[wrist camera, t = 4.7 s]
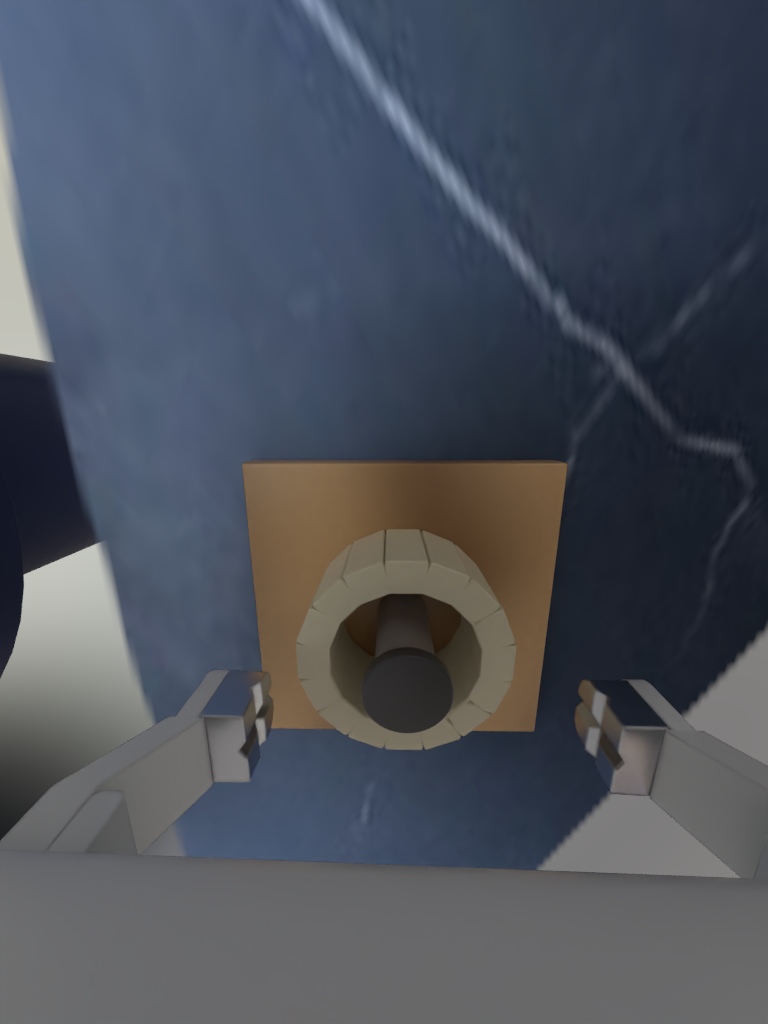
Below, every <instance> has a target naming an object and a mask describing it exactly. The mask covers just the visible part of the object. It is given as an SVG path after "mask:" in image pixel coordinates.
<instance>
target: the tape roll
mask: <svg viewBox="0 0 768 1024" xmlns="http://www.w3.org/2000/svg"><path fill="white" fill-rule="evenodd" d="M388 594H424V595H427V596H429V597H432V598H434V599H437V600H440V601H442V602H445V603H447V604H450V605H452V606H453V607H454V608H455V609H456V610H457V611H458V612H459V613H460V614H461V623H460V625H459V626H458V628H457V630H456V632H455V634H454V636H453V638H452V640H451V642H449V643H448V644H447V645H446V646H445V647H443V648H442V649H441V650H440V651H439V652H437V653H436V654H435V656H436V657H438V658H439V659H440V660H441V661H442V662H443V663H444V664H445V666H446V667H447V669H448V671H449V673H450V676H451V680H452V684H453V689H454V698H453V703H452V706H451V708H450V710H449V712H448V714H447V715H446V716H445V717H444V719H443V720H442V721H440V722H439V723H438V724H437V725H435V726H433V727H432V728H430V729H427V730H425V731H421V732H417V733H398V732H394V731H390V730H388V729H385V728H383V727H381V726H380V725H378V724H377V723H376V722H374V721H373V720H372V719H371V718H370V716H369V715H368V714H367V712H366V710H365V708H364V706H363V703H362V698H361V688H362V680H363V676H364V673H365V671H366V669H367V667H368V666H369V665H370V663H371V662H372V661H373V660H374V659H375V657H374V656H371V655H369V654H368V653H366V652H365V651H364V650H363V649H362V648H361V647H359V646H358V645H357V644H356V643H355V642H354V641H353V640H352V639H351V637H350V635H349V633H348V631H347V629H346V627H345V625H344V623H343V621H344V620H345V619H346V618H347V617H348V616H349V615H350V614H351V613H353V612H354V611H355V610H356V609H357V608H358V607H359V606H360V605H361V604H364V603H367V602H369V601H372V600H375V599H377V598H380V597H383V596H386V595H388ZM515 654H516V645H515V639H514V636H513V633H512V631H511V628H510V625H509V623H508V620H507V617H506V615H505V612H504V610H503V608H502V606H501V604H500V603H499V601H498V599H497V598H496V596H495V594H494V593H493V591H492V589H491V588H490V586H489V584H488V583H487V581H486V579H485V578H484V576H483V574H482V573H481V571H480V570H479V568H478V567H477V565H476V564H475V563H474V562H473V561H472V560H471V559H470V558H469V557H468V556H467V555H466V554H465V553H464V552H463V551H462V550H461V549H460V548H459V547H458V546H457V545H454V544H453V542H452V541H449V540H447V539H444V538H442V537H439V536H437V535H434V534H432V533H429V532H427V531H424V530H423V531H422V532H420V530H419V529H387V530H386V533H385V531H384V530H381V531H379V532H376V533H374V534H371V535H369V536H366V537H364V538H361V539H359V540H356V541H354V542H353V545H352V544H350V545H348V546H347V547H346V548H345V549H344V550H343V551H342V552H341V553H340V554H339V555H338V556H337V557H336V558H335V559H334V560H333V561H332V562H331V563H330V564H329V566H328V567H327V568H326V570H325V572H324V575H323V577H322V579H321V582H320V584H319V586H318V589H317V591H316V593H315V596H314V598H313V600H312V603H311V605H310V607H309V610H308V612H307V615H306V617H305V620H304V622H303V625H302V627H301V630H300V632H299V635H298V637H297V643H296V655H297V669H298V678H299V679H300V682H301V685H302V686H303V688H304V690H305V692H306V694H307V695H308V697H309V699H310V701H311V703H312V705H313V706H314V708H315V710H319V712H318V713H319V715H320V716H321V717H323V718H324V719H325V720H326V721H328V722H329V723H330V724H331V725H333V726H334V727H335V728H336V729H338V730H339V731H340V732H341V733H343V734H344V735H347V734H348V736H349V737H350V738H352V739H355V740H358V741H361V742H364V743H366V744H369V745H372V746H375V747H378V748H383V747H384V745H385V748H386V749H387V750H422V748H423V746H424V748H425V749H426V750H427V749H430V748H433V747H436V746H440V745H443V744H446V743H449V742H452V741H455V740H459V739H460V735H462V736H465V735H467V734H468V733H469V732H471V731H472V730H473V729H475V728H476V727H477V726H478V725H480V724H481V723H482V722H484V721H485V720H486V719H488V718H489V717H490V716H491V713H495V711H496V709H497V708H498V706H499V704H500V703H501V701H502V699H503V698H504V696H505V694H506V693H507V691H508V689H509V688H510V686H511V681H512V680H513V674H514V664H515ZM490 712H491V713H490Z"/></svg>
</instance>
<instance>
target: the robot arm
mask: <svg viewBox="0 0 768 1024" xmlns="http://www.w3.org/2000/svg"><path fill="white" fill-rule="evenodd" d="M271 686H272V682H271V674H270V673H269V672H261V671H240V670H232V671H231V670H212V671H210V672H209V673H208V674H207V675H206V676H205V678H204V679H203V680H202V682H201V683H200V684H199V686H198V687H197V688H196V690H195V691H194V692H193V694H192V695H191V696H190V698H189V699H188V700H187V702H186V703H185V704H184V706H183V707H182V708H181V710H180V711H179V712H178V714H177V715H176V716H175V717H174V716H169V717H168V718H166V719H164V720H163V721H161V722H159V723H157V724H156V725H154V726H152V727H151V728H149V729H147V730H146V731H144V732H142V733H141V734H139V735H137V736H136V737H134V738H132V739H131V740H129V741H127V742H126V743H124V744H122V745H120V746H119V747H117V748H115V749H114V750H112V751H110V752H109V753H107V754H105V755H104V756H102V757H101V758H98V759H97V760H95V761H93V762H92V763H90V764H88V765H87V766H85V767H83V768H82V769H80V770H78V771H77V772H75V773H73V774H71V775H70V776H68V777H66V778H65V779H63V780H62V781H60V782H58V783H56V784H55V785H53V786H52V787H51V788H50V789H49V790H48V791H47V792H46V793H45V794H44V795H43V796H42V797H41V798H40V799H39V800H38V801H37V802H36V803H35V805H34V806H33V807H32V808H31V809H30V810H29V811H28V812H27V813H26V814H25V815H24V816H23V817H22V818H21V819H20V821H18V822H17V824H16V825H15V826H14V827H13V828H12V829H11V830H10V831H9V832H8V833H7V834H6V835H5V836H4V837H3V838H2V840H0V1024H768V766H767V765H765V764H763V763H761V762H759V761H757V760H756V759H754V758H752V757H750V756H748V755H746V754H745V753H742V752H741V751H739V750H737V749H735V748H734V747H732V746H730V745H728V744H726V743H724V742H722V741H720V740H719V739H717V738H715V737H713V736H711V735H710V734H708V733H706V732H704V731H696V730H695V729H694V728H693V727H692V726H691V725H690V724H689V723H688V722H687V721H686V720H685V719H684V718H683V717H682V716H681V715H680V714H679V713H678V712H677V711H676V710H675V709H674V708H673V707H672V705H671V704H670V703H669V702H668V701H667V700H666V699H665V698H664V697H663V696H662V695H661V694H660V693H659V692H658V691H657V690H656V689H655V688H654V687H653V686H652V685H651V684H650V683H649V682H647V681H645V680H585V679H583V680H582V681H581V683H580V685H579V691H578V693H579V695H580V696H581V698H582V699H583V701H582V702H581V703H580V704H579V705H578V706H577V707H576V710H575V725H576V731H577V734H578V737H579V739H580V741H581V743H582V745H583V747H584V748H585V750H587V751H588V752H589V753H590V754H592V755H593V756H594V757H596V762H595V768H596V769H597V771H598V773H599V774H600V776H601V778H602V779H603V781H604V783H605V785H606V786H607V788H608V790H609V791H610V793H611V794H623V795H639V796H650V799H651V800H652V801H654V802H655V803H656V804H657V805H658V806H659V807H660V808H661V809H663V810H664V811H665V812H666V813H667V814H668V815H670V816H671V817H672V818H673V819H674V820H675V821H676V822H678V823H679V824H680V825H681V826H682V827H683V828H685V829H686V830H687V831H688V832H689V833H690V834H691V835H692V836H694V837H695V838H696V839H697V840H698V841H699V842H700V843H702V844H703V845H704V846H705V847H706V848H707V849H709V850H710V851H711V852H712V853H713V854H714V855H715V856H717V857H718V858H719V859H720V860H721V861H722V862H723V863H725V864H726V865H727V866H728V867H729V868H730V869H731V870H733V871H734V872H735V873H736V874H737V875H738V876H740V877H741V878H722V877H696V876H672V875H647V874H645V875H644V874H619V873H595V872H568V871H543V870H517V869H492V868H466V867H440V866H414V865H389V864H363V863H337V862H311V861H285V860H259V859H234V858H208V857H182V856H156V855H141V854H142V853H143V852H144V851H145V850H146V849H147V848H148V847H149V846H150V845H151V844H152V843H153V842H154V841H155V840H157V839H158V838H159V837H160V836H161V835H162V834H163V833H164V832H165V831H166V830H167V829H168V828H169V827H170V826H171V825H172V824H173V823H174V822H175V821H176V820H177V819H178V818H179V817H180V816H181V815H182V814H183V813H184V812H185V811H186V810H187V809H188V808H189V807H190V806H192V805H193V804H194V803H195V802H196V801H197V800H198V799H199V798H200V797H201V796H202V795H203V794H204V793H205V792H206V791H207V790H208V789H209V788H210V787H211V786H212V785H213V782H250V780H251V777H252V775H253V772H254V770H255V767H256V765H257V763H258V760H259V758H260V749H259V746H260V745H261V744H263V743H264V742H265V741H266V740H267V738H268V735H269V733H270V730H271V725H272V721H273V712H274V705H273V699H272V698H271V697H270V695H269V694H268V693H269V691H270V688H271Z"/></svg>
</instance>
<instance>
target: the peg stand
mask: <svg viewBox="0 0 768 1024" xmlns="http://www.w3.org/2000/svg"><path fill="white" fill-rule="evenodd" d="M567 467H568V465H567V463H564V462H560V461H556V460H251V461H248V462H244V463H243V464H242V469H243V479H244V490H245V500H246V510H247V520H248V530H249V540H250V550H251V560H252V570H253V581H254V591H255V601H256V611H257V621H258V631H259V641H260V651H261V661H262V671H263V672H269V673H270V674H271V682H272V686H271V688H270V691H269V693H268V694H269V695H270V697H271V698H272V699H273V705H274V712H273V721H272V725H271V728H276V729H336V728H335V727H334V726H333V725H331V724H330V723H329V722H328V721H326V720H325V719H324V718H323V717H321V716H320V715H319V713H318V712H319V710H315V708H314V706H313V705H312V703H311V701H310V699H309V697H308V695H307V694H306V692H305V690H304V688H303V686H302V685H301V682H300V679H299V678H298V669H297V655H296V643H297V637H298V635H299V632H300V630H301V627H302V625H303V622H304V620H305V617H306V615H307V612H308V610H309V607H310V605H311V603H312V600H313V598H314V596H315V593H316V591H317V589H318V586H319V584H320V582H321V579H322V577H323V575H324V572H325V570H326V568H327V567H328V566H329V564H330V563H331V562H332V561H333V560H334V559H335V558H336V557H337V556H338V555H339V554H340V553H341V552H342V551H343V550H344V549H345V548H346V547H347V546H348V545H350V544H352V545H353V542H354V541H356V540H359V539H361V538H364V537H366V536H369V535H371V534H374V533H376V532H379V531H381V530H384V531H385V533H386V530H387V529H419V530H420V532H422V531H423V530H424V531H427V532H429V533H432V534H434V535H437V536H439V537H442V538H444V539H447V540H449V541H452V542H453V544H454V545H457V546H458V547H459V548H460V549H461V550H462V551H463V552H464V553H465V554H466V555H467V556H468V557H469V558H470V559H471V560H472V561H473V562H474V563H475V564H476V565H477V567H478V568H479V570H480V571H481V573H482V574H483V576H484V578H485V579H486V581H487V583H488V584H489V586H490V588H491V589H492V591H493V593H494V594H495V596H496V598H497V599H498V601H499V603H500V604H501V606H502V608H503V610H504V612H505V615H506V617H507V620H508V623H509V625H510V628H511V631H512V633H513V636H514V639H515V645H516V654H515V664H514V674H513V680H512V681H511V686H510V688H509V689H508V691H507V693H506V694H505V696H504V698H503V699H502V701H501V703H500V704H499V706H498V708H497V709H496V711H495V713H491V712H490V713H491V716H490V717H489V718H488V719H486V720H485V721H484V722H482V723H481V724H480V725H478V726H477V727H476V728H475V729H473V730H472V731H526V732H533V731H534V729H535V721H536V713H537V705H538V697H539V689H540V681H541V673H542V665H543V657H544V650H545V642H546V634H547V626H548V618H549V610H550V602H551V594H552V586H553V578H554V570H555V562H556V554H557V546H558V538H559V530H560V522H561V514H562V507H563V499H564V491H565V483H566V475H567ZM343 623H344V625H345V627H346V629H347V631H348V633H349V635H350V637H351V639H352V640H353V641H354V642H355V643H356V644H357V645H358V646H359V647H361V648H362V649H363V650H364V651H365V652H366V653H368V654H369V655H371V656H374V657H375V659H374V660H373V661H372V662H371V663H370V665H369V666H368V667H367V669H366V671H365V673H364V676H363V680H362V688H361V698H362V703H363V706H364V708H365V710H366V712H367V714H368V715H369V716H370V718H371V719H372V720H373V721H374V722H376V723H377V724H378V725H380V726H381V727H383V728H385V729H388V730H390V731H394V732H398V733H417V732H421V731H425V730H427V729H430V728H432V727H433V726H435V725H437V724H438V723H439V722H440V721H442V720H443V719H444V717H445V716H446V715H447V714H448V712H449V710H450V708H451V706H452V703H453V698H454V689H453V684H452V680H451V676H450V673H449V671H448V669H447V667H446V666H445V664H444V663H443V662H442V661H441V660H440V659H439V658H438V657H436V656H435V654H436V653H437V652H439V651H440V650H441V649H442V648H443V647H445V646H446V645H447V644H448V643H449V642H451V640H452V638H453V636H454V634H455V632H456V630H457V628H458V626H459V625H460V623H461V614H460V613H459V612H458V611H457V610H456V609H455V608H454V607H453V606H452V605H450V604H447V603H445V602H442V601H440V600H437V599H434V598H432V597H429V596H427V595H424V594H388V595H386V596H383V597H380V598H377V599H375V600H372V601H369V602H367V603H364V604H361V605H360V606H359V607H358V608H357V609H356V610H355V611H354V612H353V613H351V614H350V615H349V616H348V617H347V618H346V619H345V620H344V621H343Z"/></svg>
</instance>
